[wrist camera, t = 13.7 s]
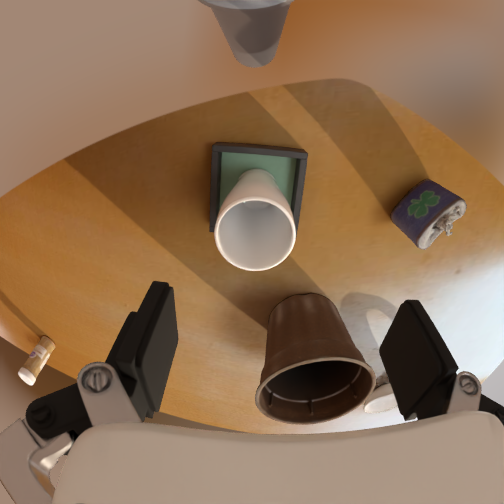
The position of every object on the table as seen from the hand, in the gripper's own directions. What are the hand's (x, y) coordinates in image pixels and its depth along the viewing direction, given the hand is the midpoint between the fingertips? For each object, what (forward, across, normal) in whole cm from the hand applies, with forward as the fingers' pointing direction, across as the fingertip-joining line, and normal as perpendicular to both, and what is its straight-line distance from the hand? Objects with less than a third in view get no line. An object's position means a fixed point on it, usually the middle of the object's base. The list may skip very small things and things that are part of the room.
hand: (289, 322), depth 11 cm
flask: (+28, -22, +1) cm, 36 cm away
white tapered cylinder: (+28, +1, +3) cm, 28 cm away
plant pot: (+28, -9, +24) cm, 38 cm away
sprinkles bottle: (+28, +50, +43) cm, 72 cm away
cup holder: (+28, +1, +3) cm, 28 cm away
